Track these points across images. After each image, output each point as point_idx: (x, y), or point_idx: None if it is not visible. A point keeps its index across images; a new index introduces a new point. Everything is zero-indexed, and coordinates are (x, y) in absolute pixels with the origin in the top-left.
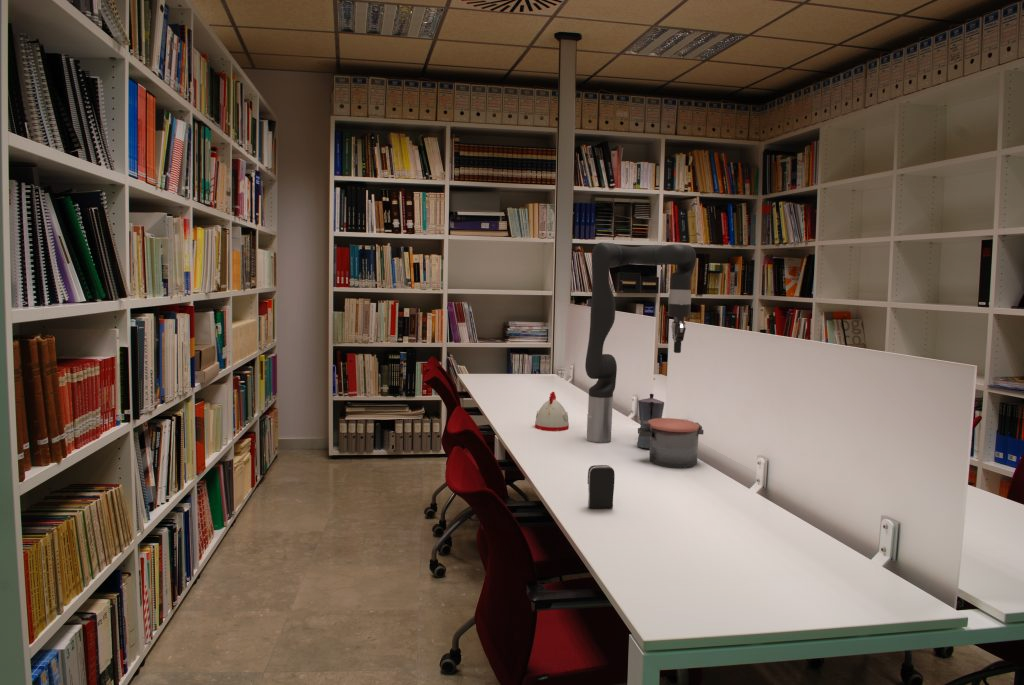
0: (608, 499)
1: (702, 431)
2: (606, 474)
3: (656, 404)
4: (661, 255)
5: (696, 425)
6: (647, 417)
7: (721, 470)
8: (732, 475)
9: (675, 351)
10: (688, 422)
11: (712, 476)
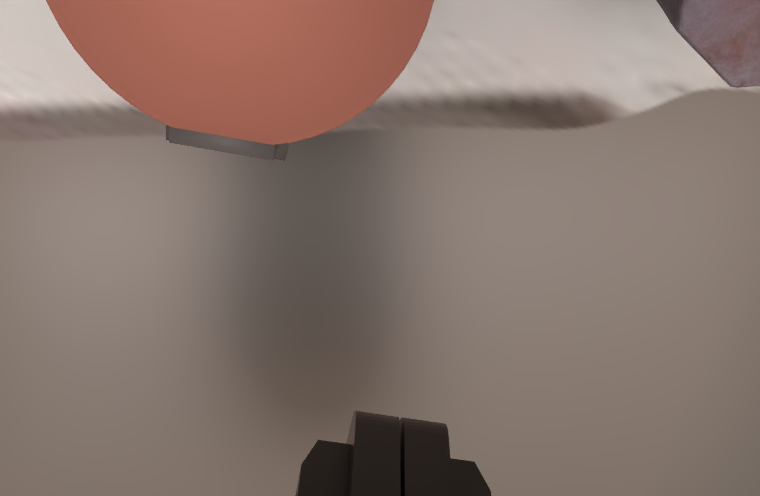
0: None
1: (167, 130)
2: None
3: None
4: None
5: (179, 113)
6: None
7: (130, 119)
8: (47, 133)
9: (349, 436)
10: (279, 96)
11: (5, 28)
